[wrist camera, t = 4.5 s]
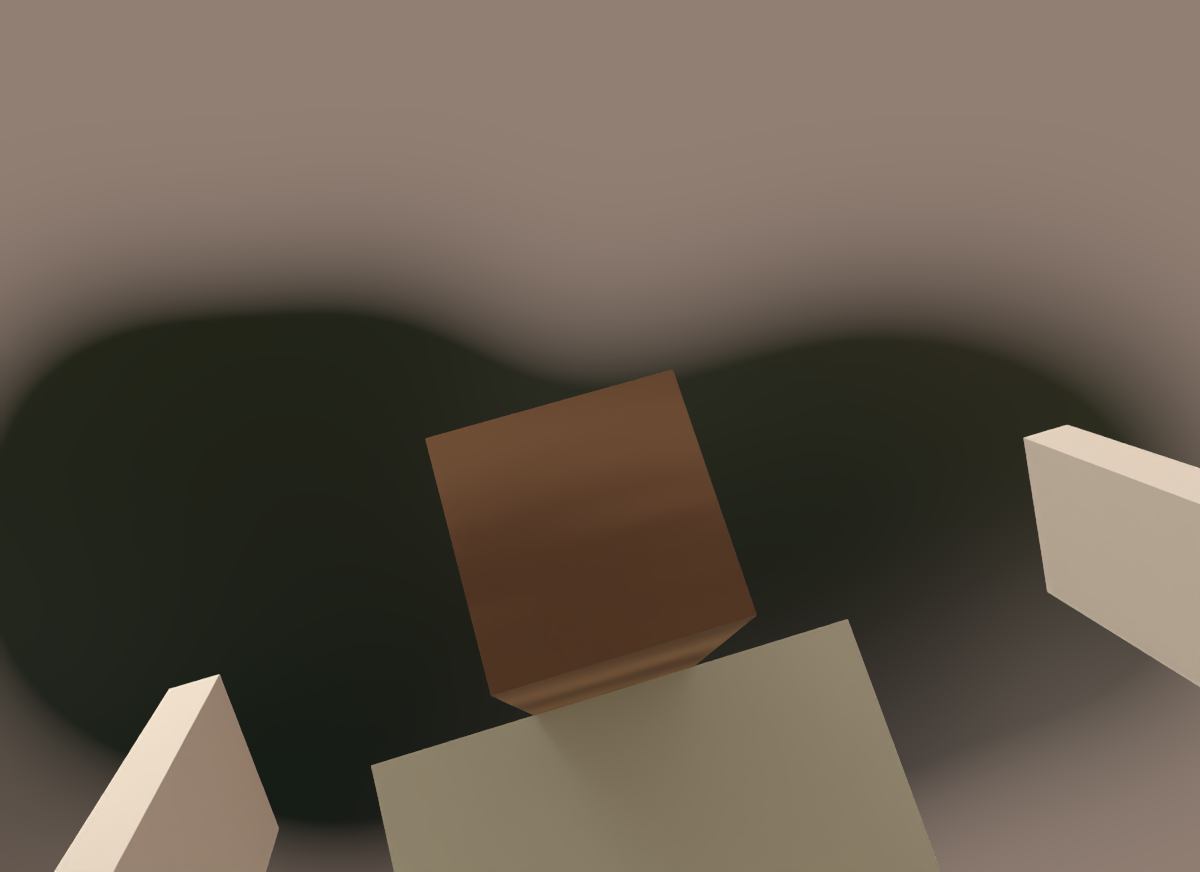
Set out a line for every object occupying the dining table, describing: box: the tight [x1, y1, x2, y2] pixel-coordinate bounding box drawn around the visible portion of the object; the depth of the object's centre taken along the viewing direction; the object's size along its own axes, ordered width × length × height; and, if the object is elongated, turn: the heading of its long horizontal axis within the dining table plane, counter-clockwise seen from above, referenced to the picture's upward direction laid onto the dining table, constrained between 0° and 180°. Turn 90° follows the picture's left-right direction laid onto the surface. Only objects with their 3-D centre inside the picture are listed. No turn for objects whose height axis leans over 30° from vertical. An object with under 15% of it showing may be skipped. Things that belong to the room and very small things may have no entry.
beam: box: [426, 370, 756, 715], centre depth 29 cm, size 30×4×4 cm, turn 0°
